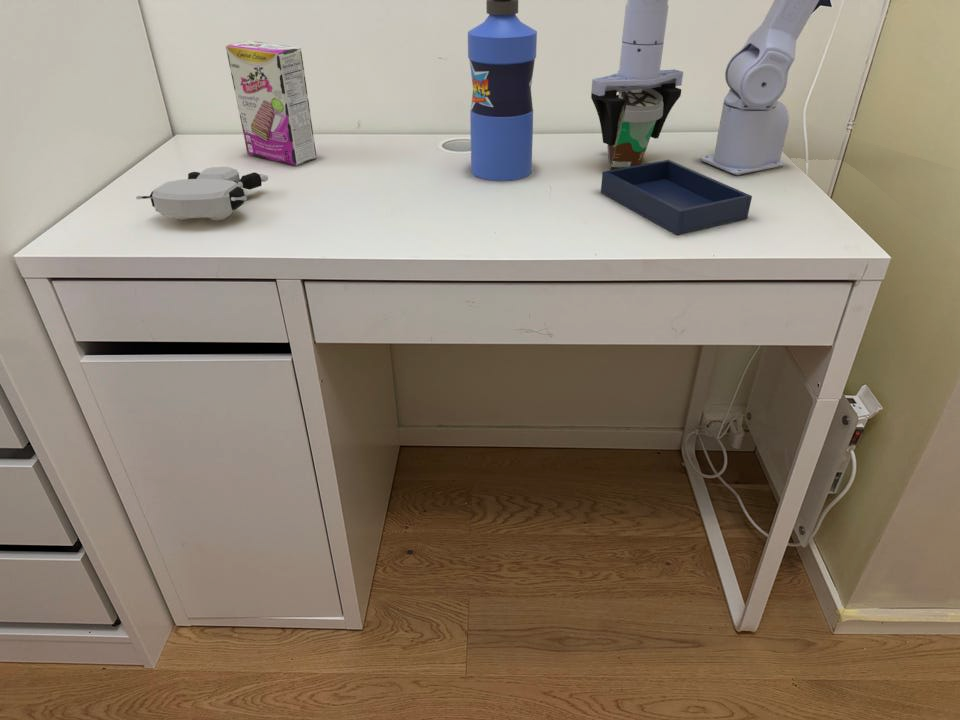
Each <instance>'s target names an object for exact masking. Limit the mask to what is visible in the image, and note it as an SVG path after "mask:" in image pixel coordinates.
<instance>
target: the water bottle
mask: <svg viewBox="0 0 960 720" xmlns="http://www.w3.org/2000/svg"><path fill="white" fill-rule="evenodd" d="M485 6H486V14H488V16H487V17H486V18H485V20H484V21H483V22H482V23H480V24H478V25H477V26H474V27H473V28H471V29H470V30H468V31H467V58H468V59H469V69H470V75H471V84H472V85H471V86H472V95H471V104H470V110H469V111H470V115H469V117H470V118H469V121H470V124H469V125H470V126H469V127H470V172H471V174H472V175H473V176H474V177H476V178H479V179H482V180H485V181H492V182H493V181H494V182H509V181H516V180H517V181H518V180H521V179H525V178H526V177H528V176H530V175H531V174H532V171H533V169H532V168H533V140H534V139H533V137H534V135H533V134H534V107H533V97H532V96H533V95H532V83H533V76H534V69H535V61H536V58H537V44H538V43H537V41H538V31H537V30H535V29H534V28H532V27H530V26H529V25H528V24H526V23H523V22H522V21H521V19H519V17H518V16H517V14H518V13H519V0H486V5H485Z"/></svg>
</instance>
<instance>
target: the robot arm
mask: <svg viewBox="0 0 960 720" xmlns="http://www.w3.org/2000/svg"><path fill="white" fill-rule="evenodd" d="M819 1H820V0H773V2H772V4H771V6H770V8H769V10H768V11H767V13H766V15H765V17H764V18H763V21H762V23H761V24H760V26H758V27H757V28H756V30H754V31H753V32H752V33H751V34H750V35H749V36H748V38H747V40H746V42H745V44H744V45H743V47H742V48H741V49H740V50H739V51H737V52H736V53H734V54H733V55H732V56H731V58H729V61H728V63H727V64H726V67H725V70H724V71H725V72H724V78H725V79H724V80H725V83H726V85H727V86H728V88H729V90H728V92H727V94H726V95H725V97H724V98H723V103H722V109H721V113H720V114H721V115H720V120H719V125H718V132H717V135H716V136H717V137H716V143H715V147H714V153H713V154H710V155H705V156H701V157H700V161H701V162H703V163H706V164H708V165H710V166H713V167H716V168H718V169H720V170H723V171H725V172H727V173H731V174H733V175H736V176H739V175H743V174H745V175H746V174H750V173H755V172H758V171H763V170H770V169H774V168H779V167H784V166H785V162H784V161H781V159H782V154H783V149H784V147H785V146H784V145H785V141H786V137H787V132H788V128H789V123H790V116H789V115H790V114H789V111H788V109H787V107H786V105H785V104H784V103H783V102H781V101H779V99H780V98H781V97H782V96H783V94H784V92H785V91H786V88H787V85H788V76H789V71H790V69H791V67H792V65H793V63H794V61H795V58H796V48H797V41H798V38H799V37H800V35H801V33H802V31H803V30H804V28H805V26H806V24H807V23H808V21H809V19H810V17H812V16H811V15H812V14H813V12H814V10H815V8H816V7H817V5H818V3H819ZM668 3H669V0H627V1H626V4H625V7H624V17H623V28H622V37H621V48H620V57H619V65H618V70H617V73H613V74H609V75H606V76H602V77H601V76H600V77H596V78H592V80H591V90H590V99H591V100H592V103H593V105H594V107H595V110H596V113H597V116H598V120H599V125H600V130H601V136H602V138H601V139H602V143H603V144H606V145H607V146H608V145H610V146H612V145H614V144H615V141H616V136H617V128H618V121H619V117H620V114H621V111H622V108H623V105H624V103H625V100H624V99H621V98H618V96H619V94H618V93H619V92H623V91H631V90H639V89H647V88H651V89H653V90H655V91H657V92H658V93H659V94H660V95H661V96H662V98H663V116H662V117H661V118H660V119H658V120H656V123H655V125H654V128H653V131H652V134H651V137H650V138H653V139H655V140H656V139H659V137H660V135H661V133H662V129H663V127H664V125H665V122H666V120H667V118H668V116H669V114H670V112H671V111H672V109H673V107H674V106H675V104H676V103H677V101H678V100H679V99H680V97H681V96H682V89H681V88H679V87H681V86H682V84H683V83H682V82H683V77H684V71H682V70H679V69H676V68H674V69H673V68H672V69H661V67H662V66H661V65H662V60H663V59H662V58H663V50H664V45H665V44H664V43H665V36H666V35H665V34H666V27H667V22H668V21H667V20H668V13H669V4H668Z"/></svg>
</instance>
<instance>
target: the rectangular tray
mask: <svg viewBox="0 0 960 720" xmlns="http://www.w3.org/2000/svg"><path fill="white" fill-rule="evenodd" d="M600 184H601V185H600V194H602V195H603V196H606V197H607V198H610V199H611V200H613V201H615V202H616V203H618V204H620V205H622V206H623V207H625V208H627V209H629V210H631V211H632V212H634V213H636V214H638V215H640V216H642V217H643V218H644V219H647V220H648V221H650V222H653V224H656V225H657V226H659V227H661V228H663V229H664V230H666V231H669V232H671V233H672V234H674V235H676V236H679V235H683V234H687V233H692V232H696V231H701V230H705V229H709V228H713V227H718V226H721V225H726V224H730V223H731V224H732V223H735V222H740V221H743V220H747V219H748V217H749V212H750V208H751V202H752V198H753V196H752V195H750V193H749V194H748V193H745V192H744V191H741V190H740V189H737V188H735V187H733V186H730V185H728V184H726V183H723V182H722V181H719V180H716V179H714V178H712V177H709V176H707V175H705V174H702V173H701V172H698V171H696V170H693V169H691V168H689V167H687V166H684V165H682V164H680V163H677V162H676V161H673V160H671V159H664V160H660V161H653V162H648V163H641V165H636V166H631V167H625V168H620V169H614V170H610V169H609V170H603V171H602V174H601V183H600Z"/></svg>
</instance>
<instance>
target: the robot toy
mask: <svg viewBox="0 0 960 720" xmlns="http://www.w3.org/2000/svg"><path fill="white" fill-rule="evenodd" d="M239 172H240V171H238V169H236V168H234V167H229V166H211V167H206V168H204V169H203V170H202V171H201V172H199V171H191V172H188V174H187V178H186V179H176V180H170V181H166V182H165V183H163V184H161V185H160V186H157V187H155V188H154V189H153V190H152V191H151V192H150V194H149V195H136V196H135V199H136V200H142V199H143V200H144V199H145V200H146V199H150V201H151V206H152V207H153V208H154V210H155V212H157V213H159V214H161V215H162V216H166V217H170V218H171V217H172V218H174V219H176V220H179V221H180V220H181V221H185V220H190V219H198V218H200V219H201V218H209V220H212V221H223V220H226V219H227V218H228V217H230V216H231V215H232V213H233V212H234V211H237V210H238V208H240V207H241V206H242V205H244V203H245V202H246V201H247V200H248V199H247V195H245V190H244V189H246V190H250V191H251V190H253V189H257V188H259V187H262V185H263V184H262V183H265V182H267V181H269V176H268V175H267V174H262V173H261V174H260V173H258V172H250V173H247V174H244V175H242V176H241V178H240V173H239Z"/></svg>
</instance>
